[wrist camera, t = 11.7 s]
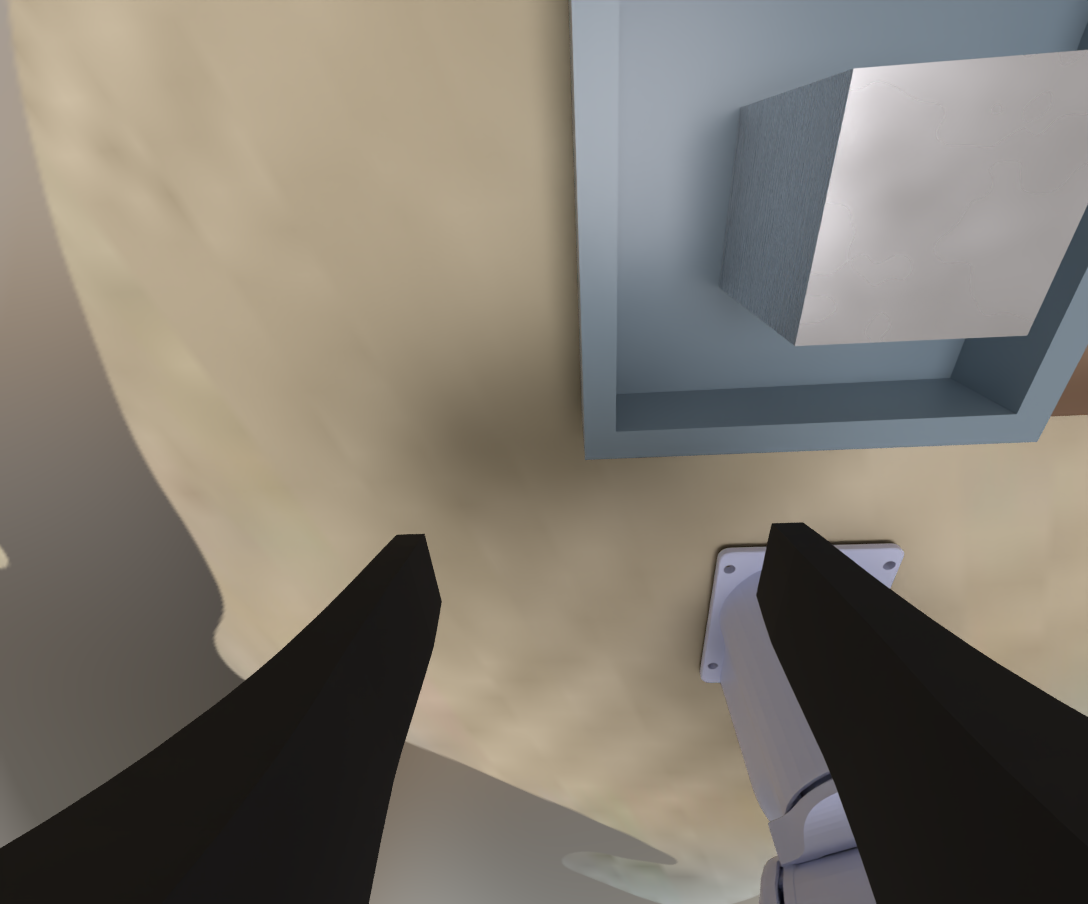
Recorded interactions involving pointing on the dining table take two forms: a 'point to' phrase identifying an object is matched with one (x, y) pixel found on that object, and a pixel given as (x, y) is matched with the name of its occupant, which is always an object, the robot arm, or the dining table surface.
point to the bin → (700, 224)
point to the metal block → (909, 199)
